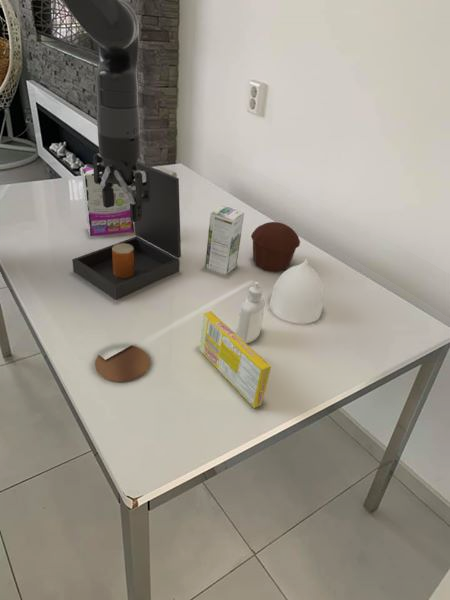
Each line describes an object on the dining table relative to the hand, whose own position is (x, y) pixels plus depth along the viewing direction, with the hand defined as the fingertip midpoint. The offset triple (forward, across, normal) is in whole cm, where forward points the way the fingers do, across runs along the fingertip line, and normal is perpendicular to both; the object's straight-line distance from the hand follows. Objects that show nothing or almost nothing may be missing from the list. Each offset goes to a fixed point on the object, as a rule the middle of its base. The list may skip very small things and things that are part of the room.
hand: (122, 213), depth 91 cm
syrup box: (+15, +12, +19) cm, 27 cm away
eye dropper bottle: (+15, +32, +4) cm, 36 cm away
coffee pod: (+14, 0, 0) cm, 14 cm away
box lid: (+1, 0, +9) cm, 9 cm away
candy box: (+15, +36, -7) cm, 40 cm away
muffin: (+15, +18, +31) cm, 39 cm away
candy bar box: (+15, -19, +11) cm, 27 cm away
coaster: (+15, +22, -18) cm, 32 cm away
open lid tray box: (+15, 0, +1) cm, 15 cm away
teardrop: (+15, +33, +19) cm, 41 cm away
